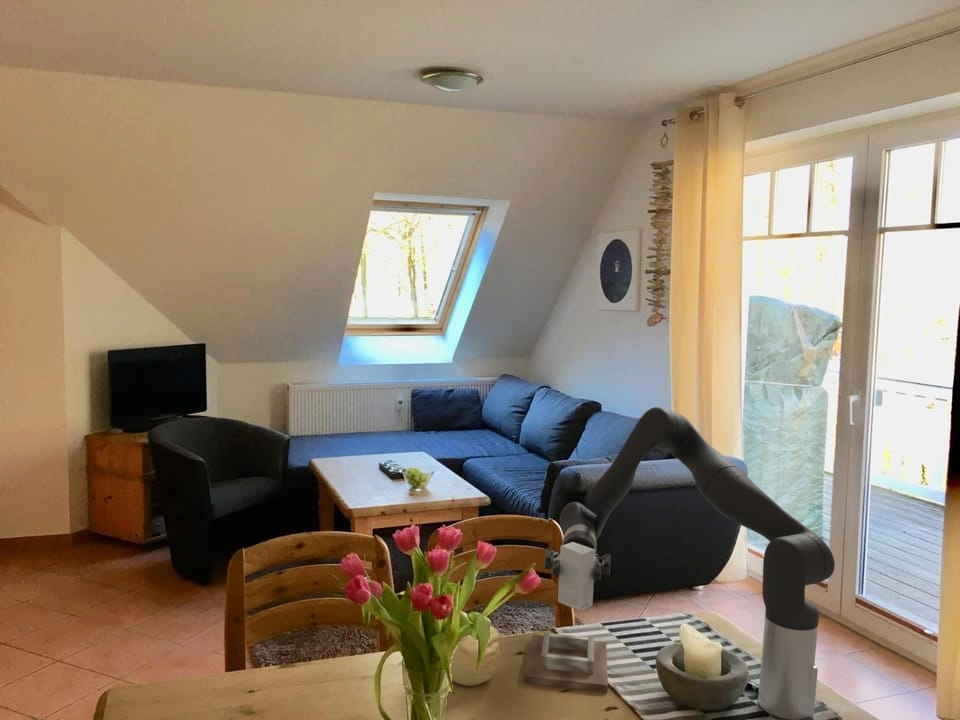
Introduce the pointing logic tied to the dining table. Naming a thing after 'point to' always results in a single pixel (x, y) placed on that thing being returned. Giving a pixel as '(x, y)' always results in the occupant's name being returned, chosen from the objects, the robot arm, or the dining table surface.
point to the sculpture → (475, 660)
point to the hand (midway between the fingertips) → (576, 575)
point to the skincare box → (576, 576)
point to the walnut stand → (567, 662)
